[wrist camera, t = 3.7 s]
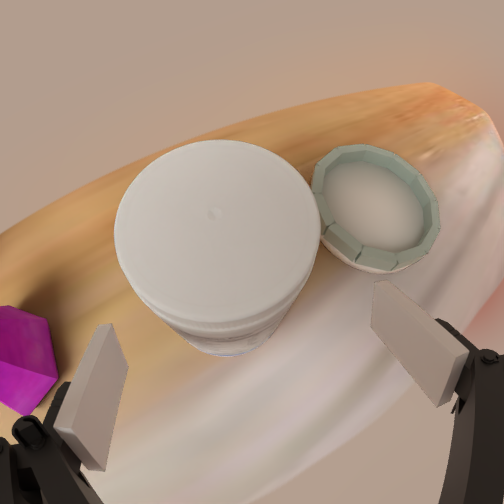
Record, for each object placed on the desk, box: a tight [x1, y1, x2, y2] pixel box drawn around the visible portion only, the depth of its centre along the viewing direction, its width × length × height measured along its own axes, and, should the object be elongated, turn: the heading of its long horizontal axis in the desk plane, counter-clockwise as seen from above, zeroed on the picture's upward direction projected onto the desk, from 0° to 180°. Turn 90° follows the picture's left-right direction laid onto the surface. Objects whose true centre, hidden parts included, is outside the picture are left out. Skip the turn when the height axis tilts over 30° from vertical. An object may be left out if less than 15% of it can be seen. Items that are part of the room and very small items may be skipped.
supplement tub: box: [114, 140, 321, 357], centre depth 20 cm, size 10×10×15 cm
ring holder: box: [310, 144, 440, 274], centre depth 30 cm, size 14×14×3 cm
